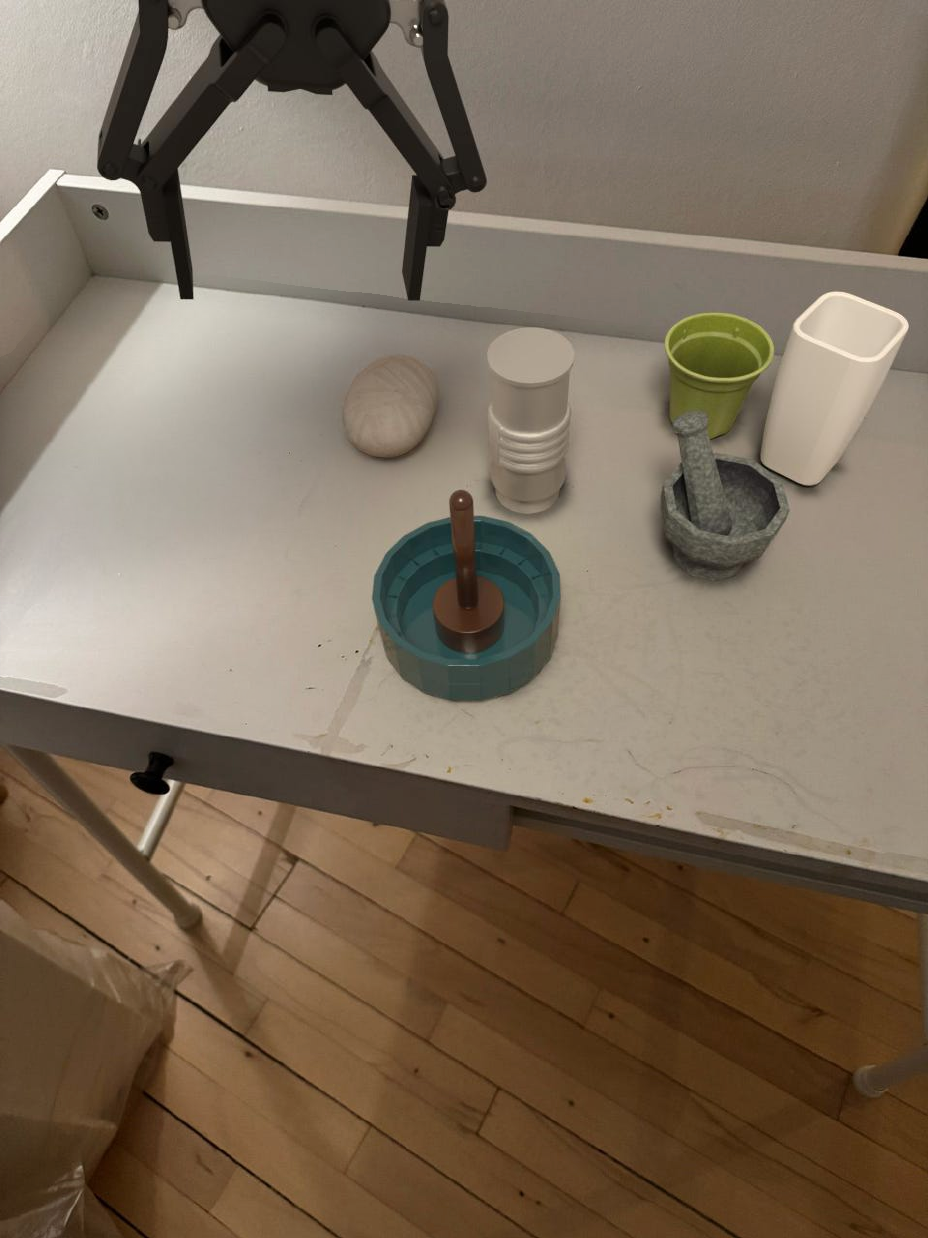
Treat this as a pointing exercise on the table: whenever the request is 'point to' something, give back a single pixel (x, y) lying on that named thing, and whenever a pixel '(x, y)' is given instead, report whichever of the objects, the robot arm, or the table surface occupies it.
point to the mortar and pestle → (718, 505)
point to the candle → (529, 417)
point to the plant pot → (715, 366)
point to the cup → (828, 383)
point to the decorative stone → (390, 405)
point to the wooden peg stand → (467, 590)
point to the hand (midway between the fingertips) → (301, 285)
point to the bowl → (410, 619)
